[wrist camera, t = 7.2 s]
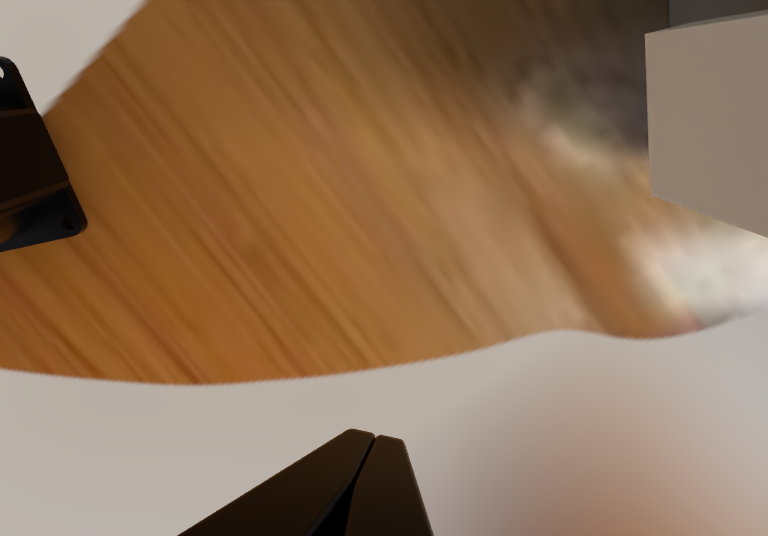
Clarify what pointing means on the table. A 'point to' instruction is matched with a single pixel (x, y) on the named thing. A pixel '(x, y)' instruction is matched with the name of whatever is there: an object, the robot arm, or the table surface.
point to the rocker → (711, 117)
